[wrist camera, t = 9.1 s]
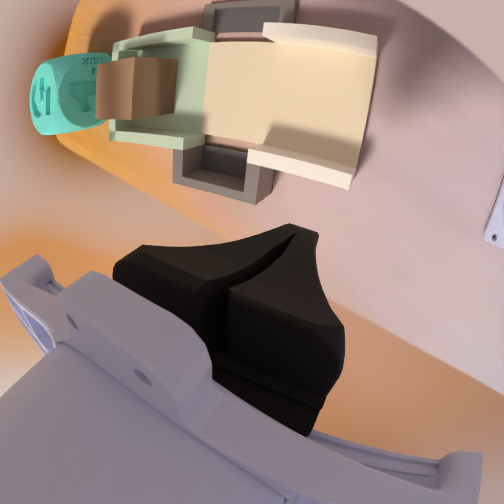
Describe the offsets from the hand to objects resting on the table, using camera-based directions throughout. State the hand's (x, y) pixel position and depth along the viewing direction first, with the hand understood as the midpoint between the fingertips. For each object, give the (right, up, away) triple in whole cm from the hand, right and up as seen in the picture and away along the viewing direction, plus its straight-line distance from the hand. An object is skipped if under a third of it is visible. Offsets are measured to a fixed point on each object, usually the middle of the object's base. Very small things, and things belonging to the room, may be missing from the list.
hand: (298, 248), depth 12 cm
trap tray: (-4, +12, +7) cm, 15 cm away
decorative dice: (-19, +19, +13) cm, 30 cm away
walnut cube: (-11, +15, +9) cm, 20 cm away
